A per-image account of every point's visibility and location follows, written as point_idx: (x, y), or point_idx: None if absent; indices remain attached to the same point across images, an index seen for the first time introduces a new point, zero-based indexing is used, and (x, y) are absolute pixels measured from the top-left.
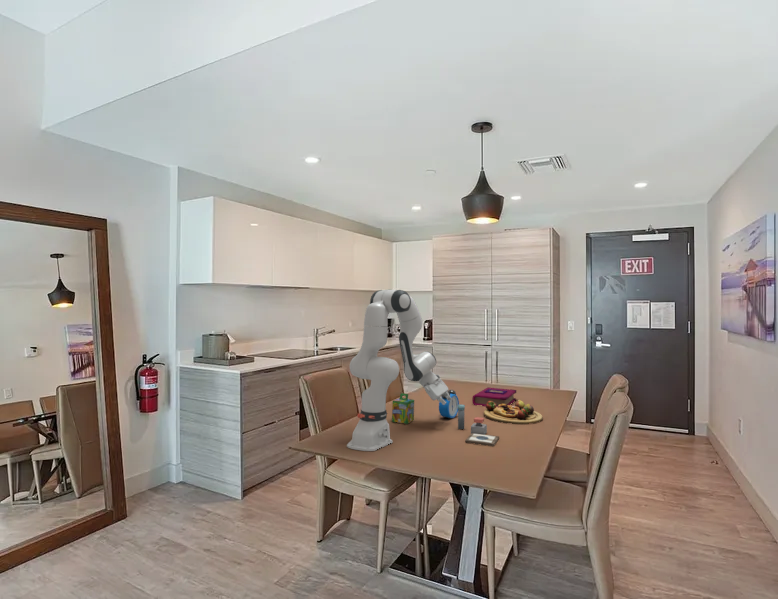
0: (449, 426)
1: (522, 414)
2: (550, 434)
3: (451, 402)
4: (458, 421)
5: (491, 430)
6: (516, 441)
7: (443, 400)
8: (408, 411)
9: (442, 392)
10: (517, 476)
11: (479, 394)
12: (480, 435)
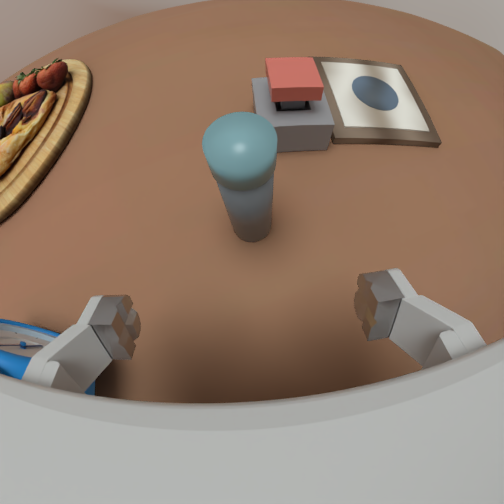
0: (235, 306)
1: (64, 63)
2: (181, 8)
3: (10, 352)
4: (267, 218)
5: (206, 102)
6: (302, 31)
7: (421, 295)
8: None
9: (315, 414)
10: (487, 55)
11: None
12: (350, 101)
